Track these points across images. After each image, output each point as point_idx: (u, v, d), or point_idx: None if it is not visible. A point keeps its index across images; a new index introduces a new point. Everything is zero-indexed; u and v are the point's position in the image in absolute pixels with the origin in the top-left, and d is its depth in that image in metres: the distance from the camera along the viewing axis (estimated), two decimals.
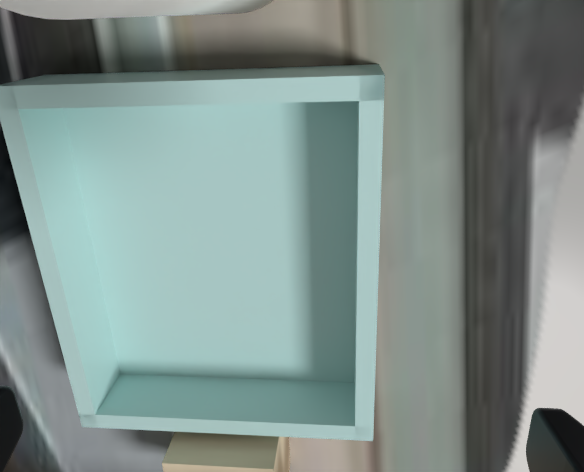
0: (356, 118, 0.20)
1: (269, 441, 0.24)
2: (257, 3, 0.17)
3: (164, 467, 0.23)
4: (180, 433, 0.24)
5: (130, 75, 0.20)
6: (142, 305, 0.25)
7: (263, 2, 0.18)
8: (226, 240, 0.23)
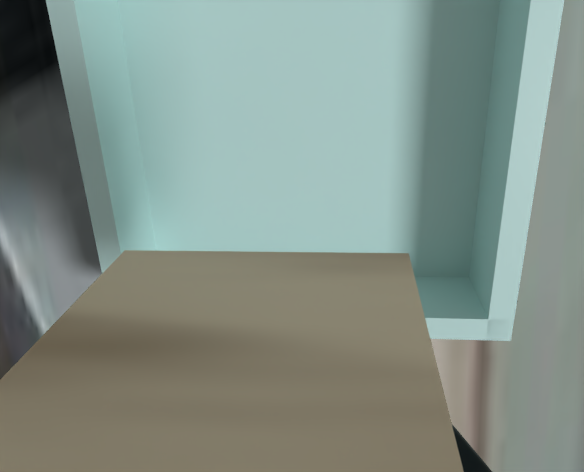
0: None
1: (404, 391, 0.05)
2: None
3: None
4: (41, 363, 0.06)
5: None
6: (193, 171, 0.19)
7: None
8: (313, 68, 0.17)
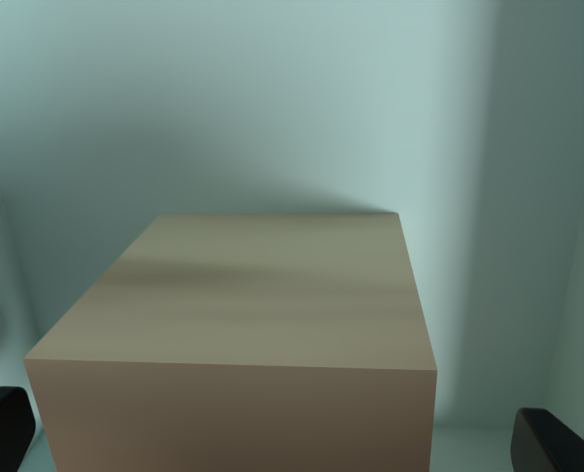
0: None
1: (391, 301, 0.07)
2: None
3: (33, 375, 0.06)
4: (107, 289, 0.08)
5: None
6: (98, 268, 0.12)
7: None
8: (287, 108, 0.10)
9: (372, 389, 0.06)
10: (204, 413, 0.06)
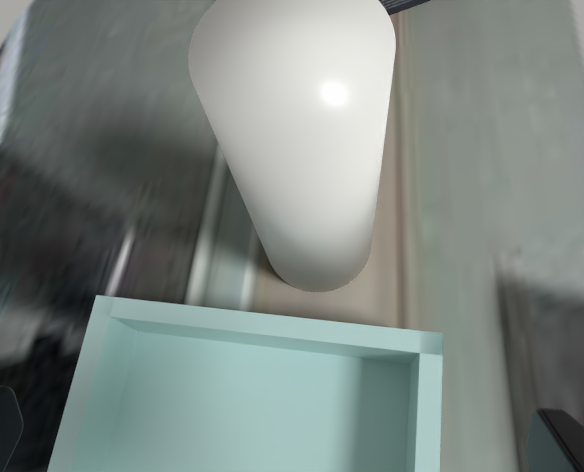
0: (408, 392, 0.21)
1: None
2: (336, 272, 0.21)
3: None
4: None
5: None
6: None
7: (338, 277, 0.22)
8: None
9: None
10: None
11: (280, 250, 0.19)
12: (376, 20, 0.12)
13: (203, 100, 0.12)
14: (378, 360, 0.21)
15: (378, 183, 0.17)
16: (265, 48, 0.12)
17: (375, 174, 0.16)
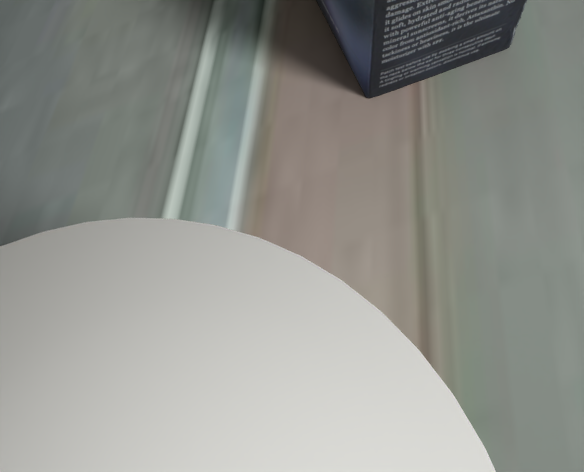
0: None
1: None
2: None
3: None
4: None
5: None
6: None
7: None
8: None
9: None
10: None
11: None
12: None
13: None
14: None
15: None
16: None
17: None
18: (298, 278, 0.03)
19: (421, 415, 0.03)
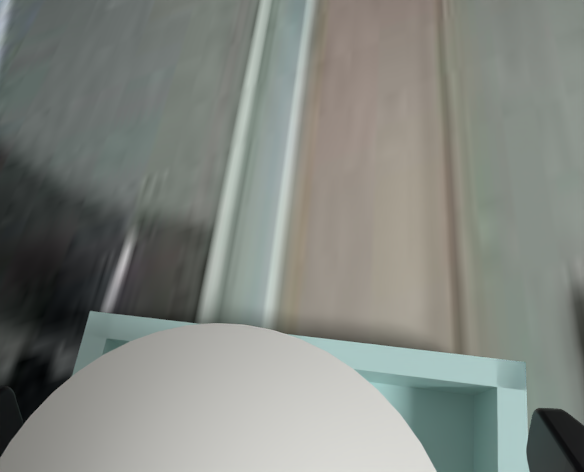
0: (472, 430, 0.17)
1: None
2: None
3: None
4: None
5: None
6: None
7: None
8: None
9: None
10: None
11: None
12: None
13: None
14: (434, 390, 0.17)
15: None
16: None
17: None
18: (326, 367, 0.05)
19: (402, 456, 0.05)
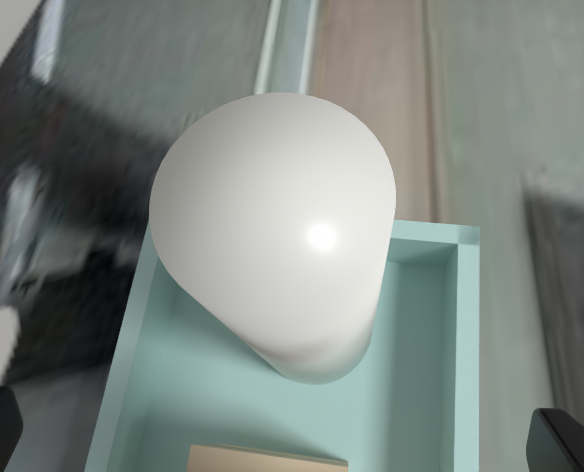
0: (443, 291, 0.22)
1: (336, 463, 0.17)
2: (333, 374, 0.19)
3: (191, 453, 0.16)
4: (213, 445, 0.18)
5: None
6: None
7: (336, 376, 0.20)
8: (300, 398, 0.21)
9: None
10: None
11: (270, 362, 0.17)
12: (372, 163, 0.10)
13: (166, 267, 0.10)
14: (414, 264, 0.23)
15: (378, 299, 0.15)
16: (240, 199, 0.10)
17: (374, 303, 0.14)
18: (328, 107, 0.11)
19: (364, 140, 0.10)
